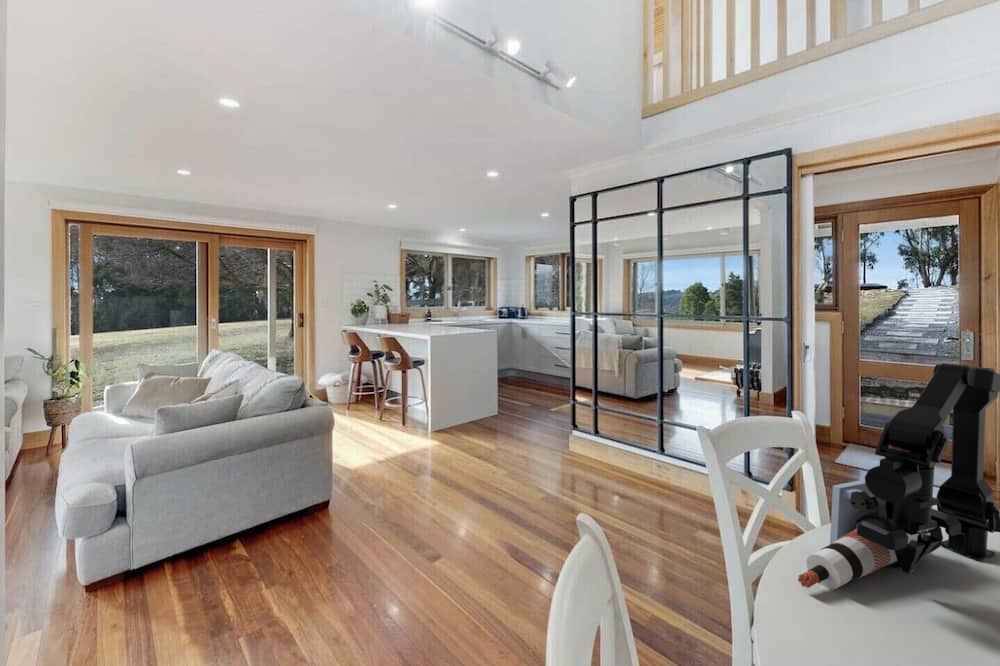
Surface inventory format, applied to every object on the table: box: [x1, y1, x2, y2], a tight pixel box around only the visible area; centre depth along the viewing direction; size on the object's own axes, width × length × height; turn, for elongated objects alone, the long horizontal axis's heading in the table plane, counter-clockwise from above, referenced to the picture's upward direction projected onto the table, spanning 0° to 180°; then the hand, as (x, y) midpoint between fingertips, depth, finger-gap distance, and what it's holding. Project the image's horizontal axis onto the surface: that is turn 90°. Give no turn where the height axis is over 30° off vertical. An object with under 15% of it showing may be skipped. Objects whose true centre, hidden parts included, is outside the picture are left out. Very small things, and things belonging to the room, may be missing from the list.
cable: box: [797, 512, 944, 590], centre depth 89 cm, size 10×34×10 cm, turn 113°
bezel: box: [829, 479, 871, 545], centre depth 97 cm, size 14×4×14 cm, turn 109°
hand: (905, 572), depth 83 cm, fingers closed
